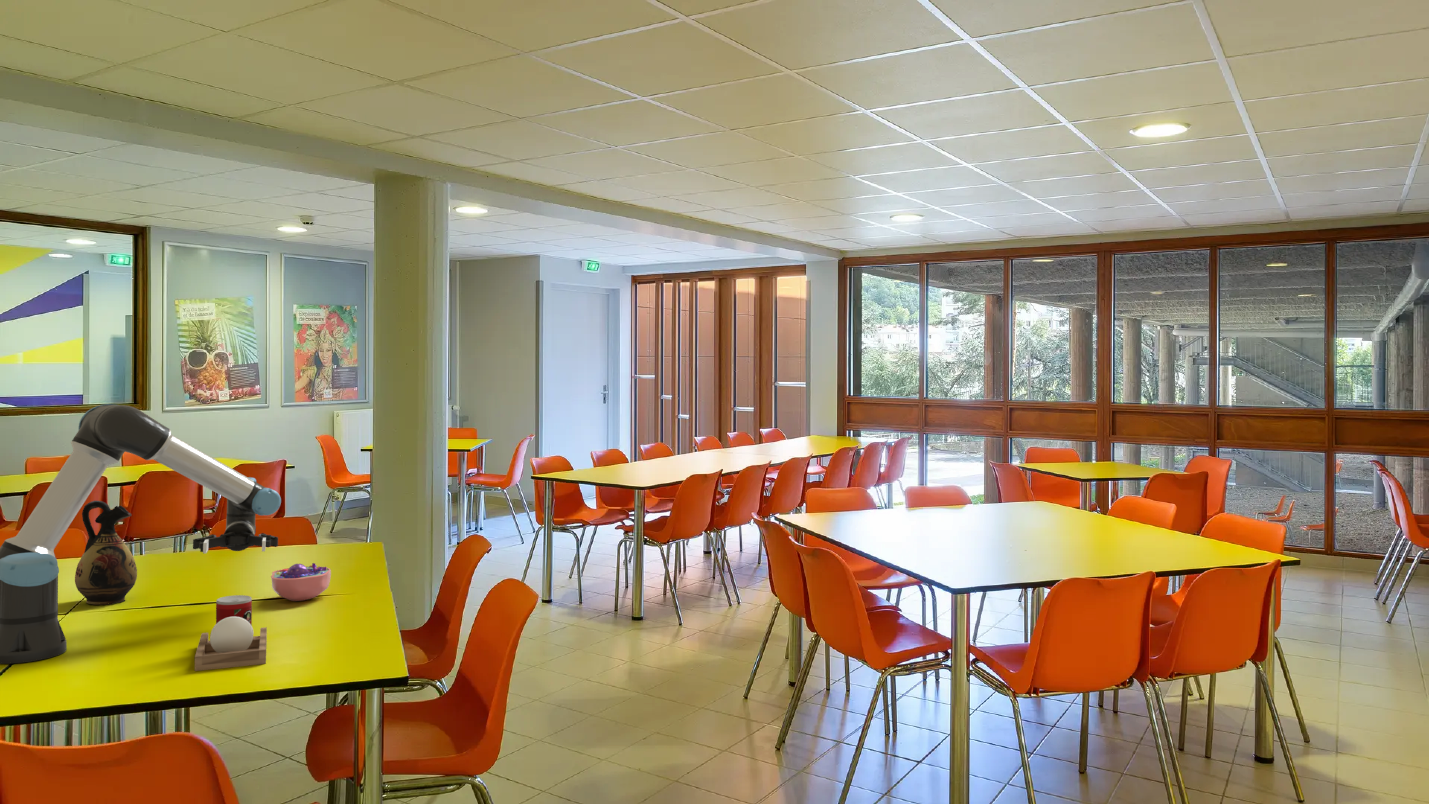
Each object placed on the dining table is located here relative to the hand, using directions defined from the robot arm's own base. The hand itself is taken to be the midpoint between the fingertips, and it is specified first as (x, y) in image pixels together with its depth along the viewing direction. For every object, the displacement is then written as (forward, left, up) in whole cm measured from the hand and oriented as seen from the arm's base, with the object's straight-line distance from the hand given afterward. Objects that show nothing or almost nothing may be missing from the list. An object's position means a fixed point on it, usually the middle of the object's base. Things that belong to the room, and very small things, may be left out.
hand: (234, 547), depth 239 cm
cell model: (+37, +13, -23) cm, 46 cm away
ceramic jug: (+12, +63, -23) cm, 68 cm away
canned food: (-11, -11, -21) cm, 26 cm away
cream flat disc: (-19, -19, -21) cm, 34 cm away
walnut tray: (-15, -16, -22) cm, 31 cm away
